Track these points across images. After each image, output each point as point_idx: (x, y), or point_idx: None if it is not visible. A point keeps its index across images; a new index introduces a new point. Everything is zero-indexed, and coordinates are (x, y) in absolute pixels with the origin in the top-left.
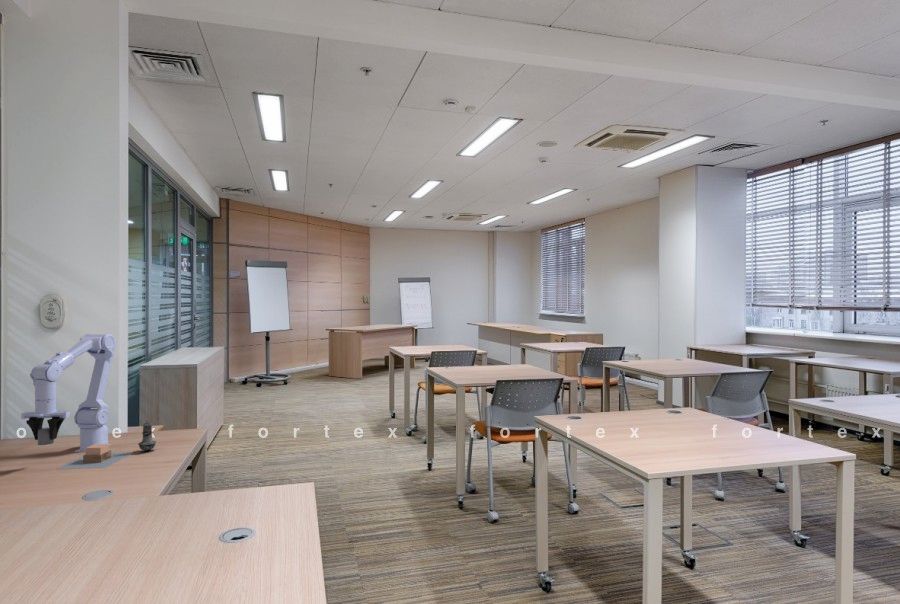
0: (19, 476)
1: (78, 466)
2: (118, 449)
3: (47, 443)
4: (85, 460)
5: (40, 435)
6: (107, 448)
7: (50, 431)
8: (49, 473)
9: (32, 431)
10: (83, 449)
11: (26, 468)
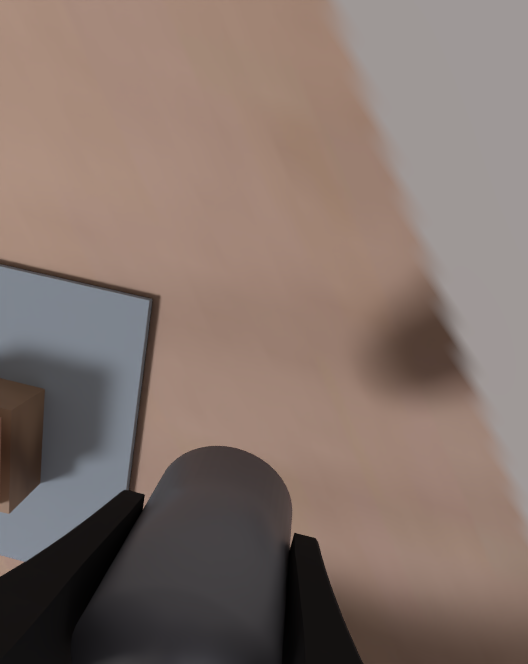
0: (330, 204)
1: (28, 309)
2: None
3: (178, 459)
4: (20, 391)
5: (220, 529)
6: None
7: (74, 559)
8: (156, 223)
9: (346, 635)
10: None
11: (365, 396)
